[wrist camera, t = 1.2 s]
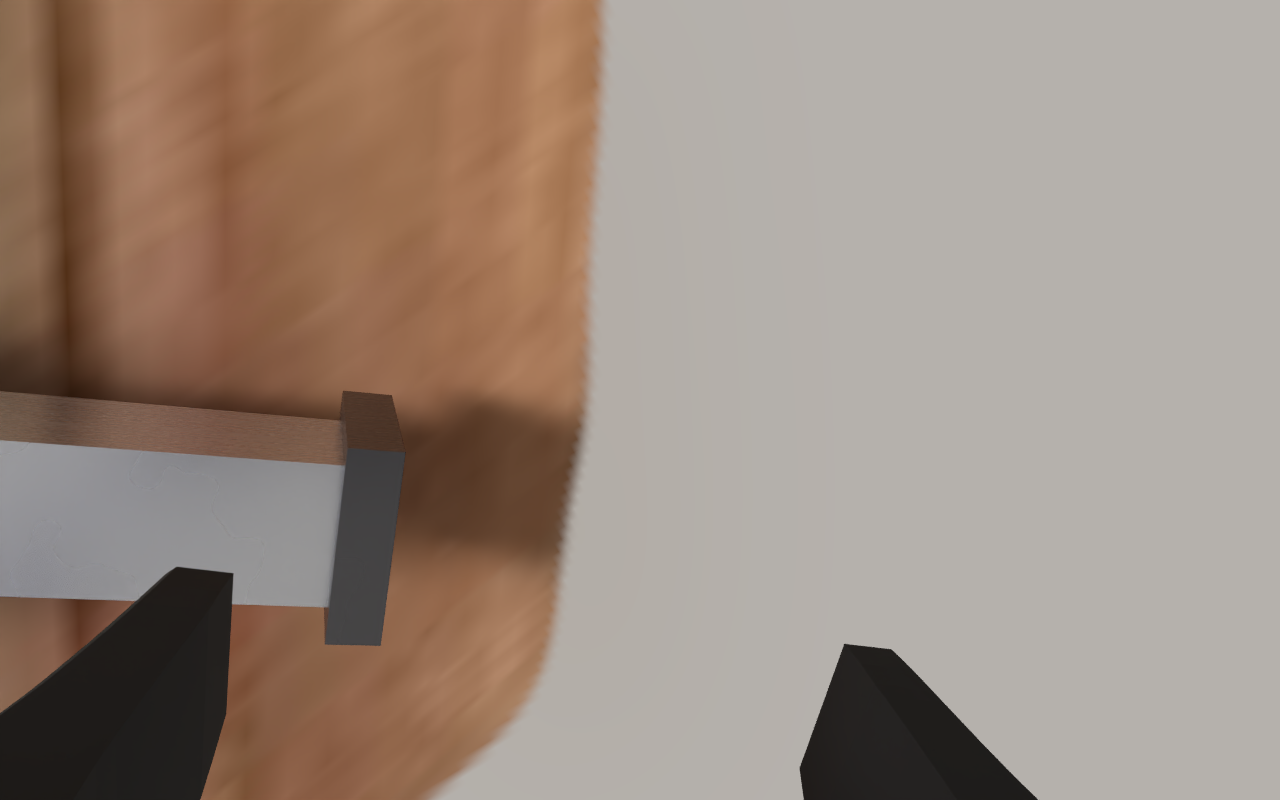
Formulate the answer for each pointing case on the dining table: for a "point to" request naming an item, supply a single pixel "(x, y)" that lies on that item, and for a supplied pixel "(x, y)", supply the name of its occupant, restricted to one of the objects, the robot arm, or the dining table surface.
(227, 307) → the dining table surface
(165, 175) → the dining table surface
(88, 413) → the shaft
